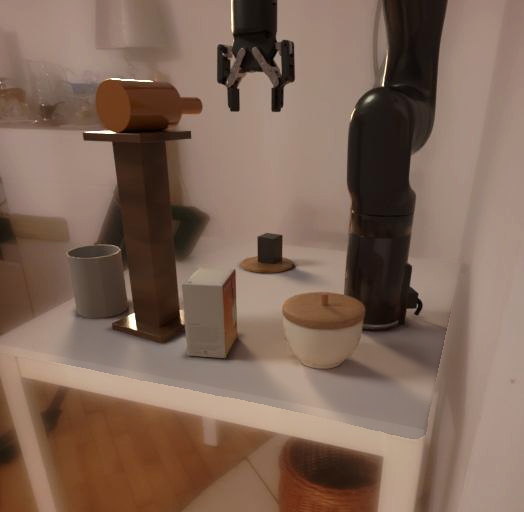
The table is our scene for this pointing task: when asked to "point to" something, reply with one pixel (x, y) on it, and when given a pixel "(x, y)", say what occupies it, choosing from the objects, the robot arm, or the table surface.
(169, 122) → the bottle
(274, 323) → the table surface
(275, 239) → the dark grey block
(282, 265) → the mat
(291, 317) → the trinket box
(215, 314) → the small box
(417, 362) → the table surface
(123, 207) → the stand
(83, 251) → the cup
